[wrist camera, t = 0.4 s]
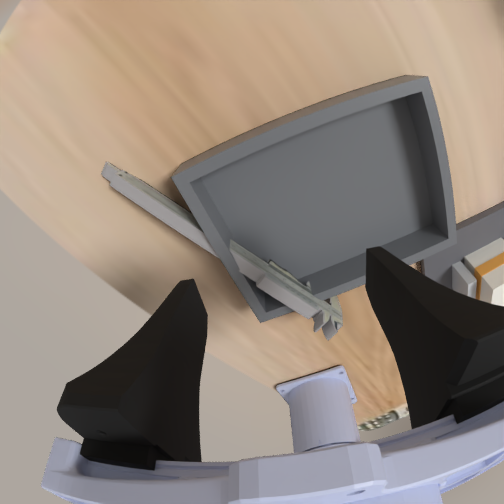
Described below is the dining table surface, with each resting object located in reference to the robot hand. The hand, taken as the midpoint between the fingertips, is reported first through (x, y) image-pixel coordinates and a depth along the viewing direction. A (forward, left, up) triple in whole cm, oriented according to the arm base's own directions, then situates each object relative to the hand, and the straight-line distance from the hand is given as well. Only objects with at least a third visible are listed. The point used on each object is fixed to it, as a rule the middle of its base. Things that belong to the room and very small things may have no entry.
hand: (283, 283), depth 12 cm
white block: (-14, -17, -9) cm, 24 cm away
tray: (-2, -4, -10) cm, 11 cm away
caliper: (-1, +4, -10) cm, 11 cm away
